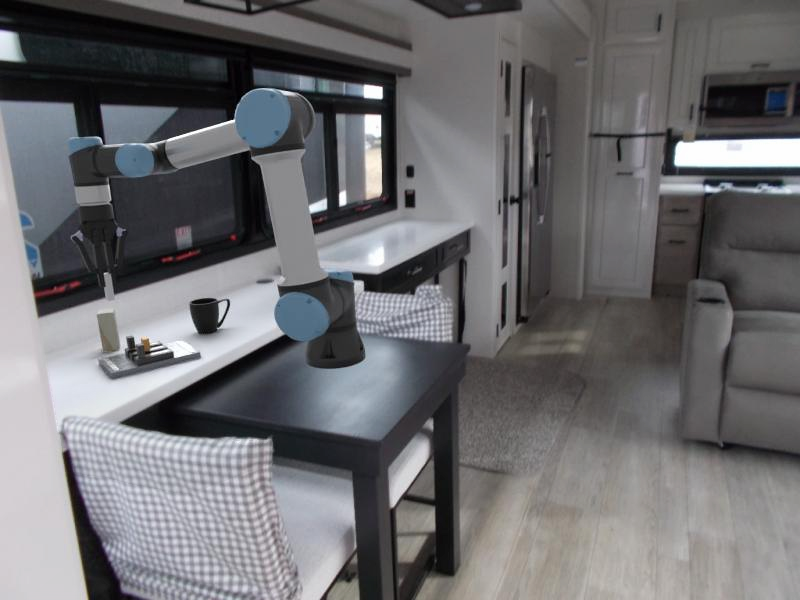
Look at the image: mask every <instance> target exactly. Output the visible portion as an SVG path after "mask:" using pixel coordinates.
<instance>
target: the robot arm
mask: <svg viewBox="0 0 800 600" xmlns="http://www.w3.org/2000/svg"><path fill="white" fill-rule="evenodd" d="M234 112H235V113H234V119H233V120H232V119H231V120H229V121H226V122H221V123H218V124H215V125H212V126H208V127H204V128H202V129H197V130H195V131H190V132H188V133H185V134H184V133H183V134H182V135H179V136H178V135H177V136H174V137H171V138H168V139H164V140H161V141H157V142H153V143H152V142H150V143H136V142H132V143H131V142H128V143H117V144H104V143H103V140H102V138H101V137H99V136H83V137H82V136H81V137H80V136H77V137H70V138H68V140H67V152H68V153H67V154H68V156H67V157H68V160H69V166H70V170H71V175H72V180H73V187H74V192H75V193H74V194H75V199H76V203H77V204H78V207H77V210H78V218H79V227H78V231H77V232H76V233H75V234H71V235H70V236H69V239H70V240H71V241H72V242H73V244H75V245H76V247H77V249H78V251H79V252H78V253H80V256H81V258H82V260H83V262H84V265H85V267H86V269H87V271H88V272H89V273H91V274H95V275H96V276H97V281H98V286H99V287H100V288H103V289H104V295H105V299H106V300H107V301H109V302H110V301H115V300H116V299H115V292H114V286H117V283H118V281H117V277H116V272H118V271H120V270H122V269H123V267H124V266H123V264H124V255H125V245H126V239H127V237H128V235H129V231H128V230H127V229H123V228H121V227H119V225H118V223H117V222H116V220H115V215H114V208H113V207H114V206H113V204H112V203H110V202H111V201H112V196H111V195H112V194H111V189H110V183H109V179H110V178H131V179H135V178H140V177H147V176H151V175H167V174H168V175H169V174H172V173H175V172H177V171H178V170H180V169H183V168H187V167H192V166H196V165H198V164H203V163H205V162H209V161H214V160H217V159H221V158H225V157H228V156H232V155H234V154H239V153H240V154H241V153H243V152H247V151H249V152H250V156H251V160H252V161H254V162H255V163H256V164H258V165H259V166H260V170H261V174H262V180H263V185H264V190H265V194H266V195H265V196H266V201H267V206H268V211H269V214H270V220H271V224H272V230H273V235H274V241H275V245H276V250H277V255H278V260H279V266H280V271H281V277H280V278H279V279H278V280H277V282H276V286H277V290H278V291H277V292H278V297H279V298H278V300H277V302H276V304H275V306H274V313H273V315H274V319H275V323H276V325H277V327H278V328H279V330H280V331H281V332H282V333H283V334H284V335H286V336H287V337H289V338H290V339H292V340H294V341H299V342H307V344H306V348H305V352H304V359H305V363H306V365H308V366H310V367H312V368H316V369H322V370H334V369H344V368H349V367H352V366H356V365H358V364H360V363H362V362H363V361H364V360H365V359H366V348H365V345H364V343H363V342H364V341H362V340H363V339H362V337H361V335H360V332H359V331H358V326H357V314H356V313H357V312H356V311H357V309H356V294H355V281H354V275H353V272H352V271H351V270H349V269H341V268H339V269H338V268H333V269H332V268H328V269H325V268H324V269H322V268H321V265H320V260H319V259H320V258H319V254H318V249H317V243H316V242H317V241H316V238H315V233H314V227H313V221H312V216H311V210H310V205H309V199H308V194H307V189H306V188H307V187H306V184H305V177H304V173H303V167H302V162H301V159H302V157H303V156H304V154H305V152H306V151H307V150H306V143H305V141H307V139H309V138H310V136H312V133H313V132H314V130H315V126H316V114H315V111H314V108H313V106H312V104H311V102H309V100H308V99H307V98H306V97H304V96H303V95H302V94H299V93H298V92H294V91H286V90H282V89H276V88H273V87H265V88H261V87H260V88H255V89H252V90H250V91H249V92H247V93H245V95H243V96H242V97H241V99H240V100H239V102H238V104H237V105H236V109H235V111H234ZM115 233H116V234H115ZM115 235H116V236H117V238H116V239H117V240H116V248H115V249H116V251H115V260H114V254H113V249H112V240H113V237H114V236H115ZM83 237H85V238H86V240H88V241H89V242H90V243H91V248H92V253H93V261H94V264H93V262H92V260H91V258H90V254H89V252H88V250H87V248H86V246H85V244H84V242H83V241H84V238H83ZM101 243H102V245H103V250H104V251H103V252H104V256H105V261H106V269H107V272H105V270H104V263H103V259H102V258H103V257H102V253H101Z"/></svg>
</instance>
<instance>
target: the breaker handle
mask: <svg viewBox="0 0 800 600" xmlns="http://www.w3.org/2000/svg"><path fill="white" fill-rule="evenodd" d="M140 343H142V344H144V348H145V351H147V350H151V349H150V343H151V342H150V338H149V337H148V336H145V337H140Z"/></svg>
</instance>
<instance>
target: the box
mask: <svg viewBox="0 0 800 600" xmlns="http://www.w3.org/2000/svg"><path fill="white" fill-rule="evenodd" d="M96 318H97V324H98V329H99V335H100V336H99V337H100V342H101V347H102V352H103V353H106V352H115V351H119V350H120V349H121V342H120V336H119V328H118V323H117V316H116V309H115V308H106V309H98V310H97V312H96Z"/></svg>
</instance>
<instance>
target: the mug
mask: <svg viewBox="0 0 800 600" xmlns="http://www.w3.org/2000/svg"><path fill="white" fill-rule="evenodd" d="M225 301H226V308H225V311H224V314H223V315H222V318H221V319H220V306H219V304H220V303H221V302H225ZM188 305H189V306H188V307H189V312H190V316H191V320H192V323H193V325H194V327H195V330H196V332H197V333H198V334H199V335H208V334H213V333H215V332H217V331H218V329H219V328H221V327H222V325H223V324H224V322H225V320H226V317H227V315H228V313H229V309H230V306H231V301H230V299H229V298H222V299H219V300H218V298H215V297H202V298H197V299H194V300H193V299H192V300H191V301H189V303H188ZM219 319H220V321H219Z"/></svg>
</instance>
